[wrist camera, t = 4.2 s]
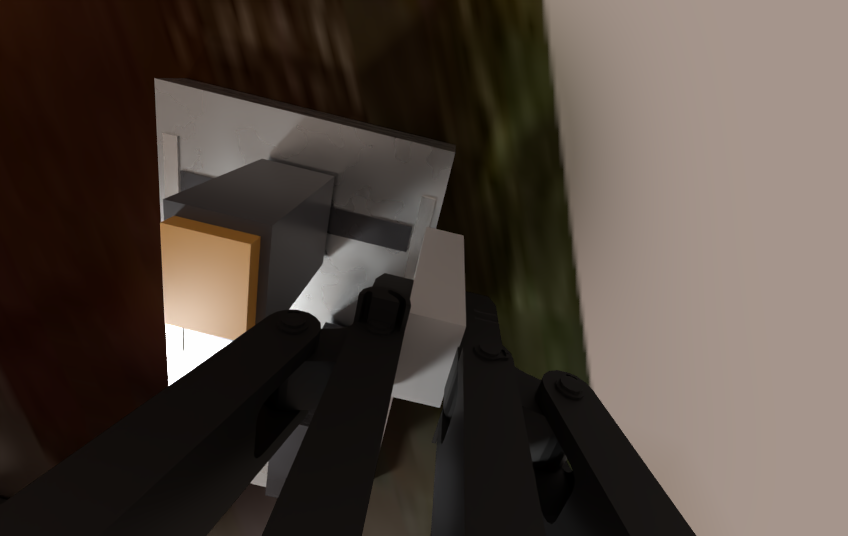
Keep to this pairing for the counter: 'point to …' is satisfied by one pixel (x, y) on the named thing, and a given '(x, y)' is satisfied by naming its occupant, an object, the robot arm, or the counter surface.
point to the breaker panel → (349, 214)
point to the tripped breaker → (242, 246)
